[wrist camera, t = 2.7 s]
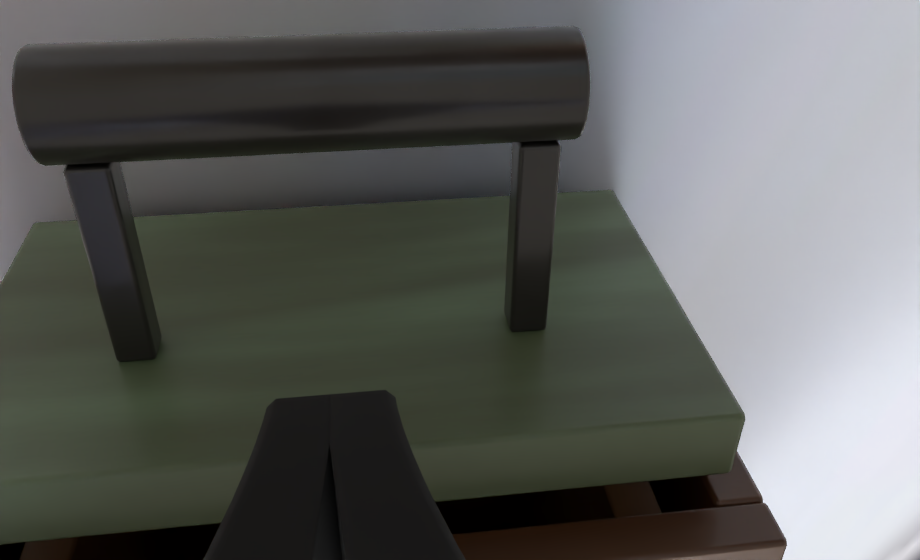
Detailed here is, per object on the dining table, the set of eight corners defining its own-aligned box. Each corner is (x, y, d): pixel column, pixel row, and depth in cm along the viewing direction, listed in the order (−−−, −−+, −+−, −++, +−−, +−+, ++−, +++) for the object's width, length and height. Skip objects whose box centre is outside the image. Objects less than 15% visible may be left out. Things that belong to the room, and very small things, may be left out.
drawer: (-50, -38, 14) (-308, 147, 8) (643, -54, 15) (836, 95, 9) (164, 637, 24) (117, 924, 18) (562, 593, 25) (631, 847, 20)
